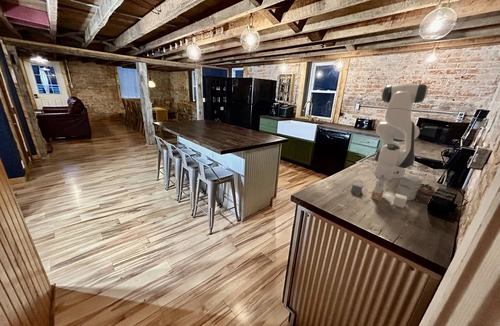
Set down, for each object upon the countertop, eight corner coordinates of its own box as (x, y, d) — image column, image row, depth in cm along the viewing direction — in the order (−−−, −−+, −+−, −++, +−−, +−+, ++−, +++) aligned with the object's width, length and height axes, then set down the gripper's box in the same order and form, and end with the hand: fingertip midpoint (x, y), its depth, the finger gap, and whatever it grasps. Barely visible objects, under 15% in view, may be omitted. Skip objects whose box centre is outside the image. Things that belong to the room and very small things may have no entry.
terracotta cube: (381, 197, 119) (383, 190, 117) (380, 201, 115) (383, 193, 113) (371, 194, 122) (374, 187, 120) (370, 198, 118) (373, 190, 116)
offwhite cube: (404, 204, 113) (406, 196, 111) (403, 208, 109) (406, 199, 107) (393, 201, 116) (396, 193, 114) (392, 204, 112) (395, 196, 110)
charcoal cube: (361, 191, 125) (363, 184, 123) (359, 194, 121) (361, 187, 119) (352, 189, 128) (354, 182, 126) (350, 192, 124) (352, 184, 122)
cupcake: (436, 203, 115) (443, 187, 112) (422, 204, 113) (428, 188, 110) (420, 195, 124) (426, 180, 120) (407, 196, 122) (412, 181, 119)
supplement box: (395, 194, 123) (401, 176, 118) (403, 193, 125) (409, 174, 121) (407, 201, 116) (414, 181, 112) (416, 199, 119) (423, 179, 114)
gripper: (388, 180, 103) (381, 204, 108) (391, 169, 119) (384, 190, 124) (374, 177, 107) (368, 200, 111) (379, 167, 122) (373, 187, 127)
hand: (376, 195), depth 118 cm, fingers open, 7 cm apart
